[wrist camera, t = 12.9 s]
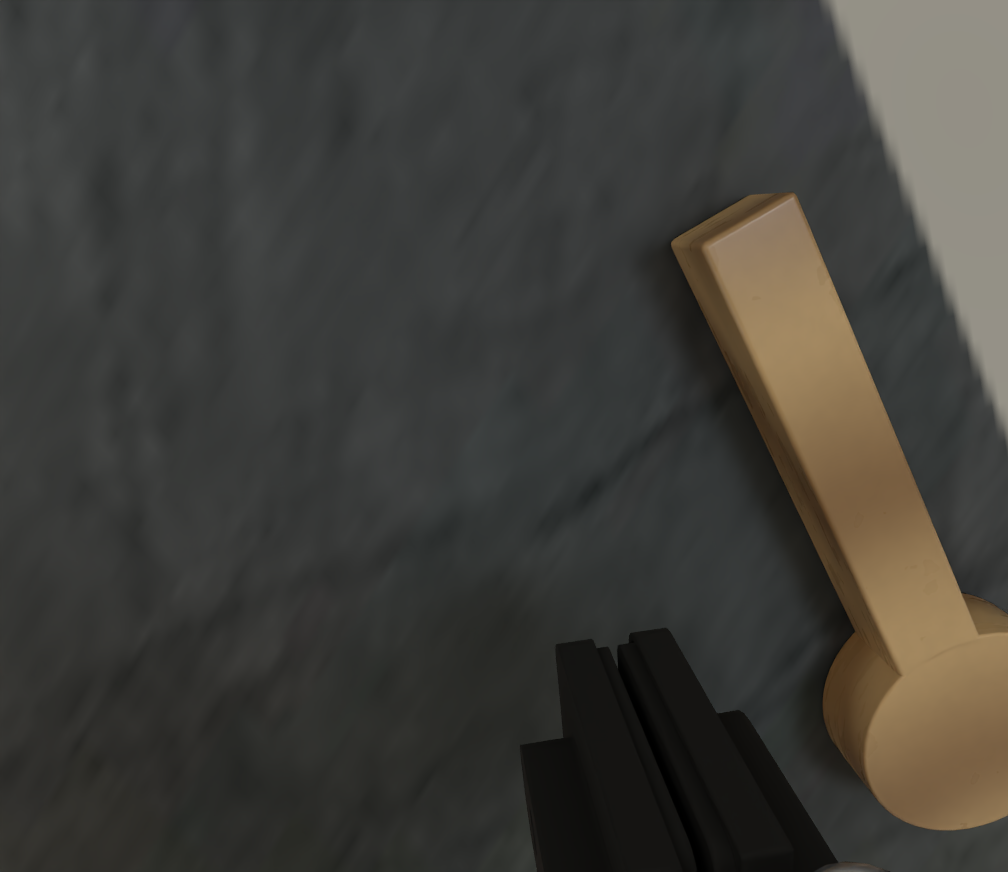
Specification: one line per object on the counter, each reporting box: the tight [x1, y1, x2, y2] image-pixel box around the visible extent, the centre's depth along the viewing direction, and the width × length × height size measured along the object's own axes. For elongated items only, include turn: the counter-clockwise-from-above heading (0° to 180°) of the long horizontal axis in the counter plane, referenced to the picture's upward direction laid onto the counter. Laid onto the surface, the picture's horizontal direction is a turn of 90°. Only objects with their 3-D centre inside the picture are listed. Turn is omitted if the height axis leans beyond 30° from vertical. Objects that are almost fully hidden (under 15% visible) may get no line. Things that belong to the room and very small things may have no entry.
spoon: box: [671, 192, 1008, 830], centre depth 14 cm, size 13×4×2 cm, turn 30°
